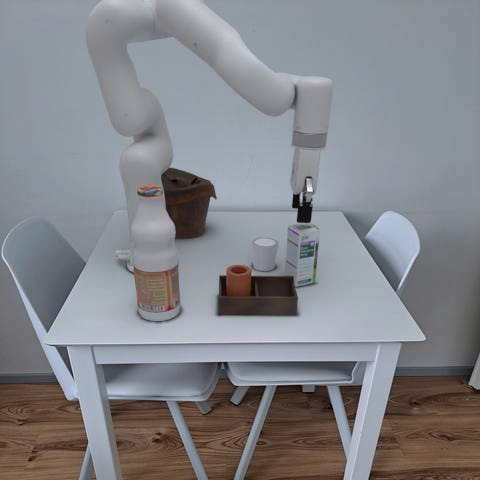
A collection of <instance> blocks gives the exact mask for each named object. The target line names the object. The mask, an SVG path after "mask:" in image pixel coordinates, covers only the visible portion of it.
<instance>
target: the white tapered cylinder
mask: <svg viewBox="0 0 480 480" xmlns="http://www.w3.org/2000/svg"><path fill="white" fill-rule="evenodd" d="M251 246H252V247H251V249H252V262H253V263H252V265H253V269H255V270H257V271H261V272H269V271H273V270H274V269H275V267H276V260H277V254H278V248H279V247H278V246H279V242H278V241H277V240H276V238H275V239H274V238H272V237H257V238H254V239H253V240H252V242H251Z"/></svg>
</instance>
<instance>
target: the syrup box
mask: <svg viewBox="0 0 480 480" xmlns="http://www.w3.org/2000/svg"><path fill="white" fill-rule="evenodd" d="M320 233H321V228H319V227H318V226H317V225H315V224H313V223H311V222H310V223H295V224H288V225H287V233H286V235H287V236H286V253H285V269H284V276H294V284H295V288H299V287H301V286H306V285H312V284H315V283H316V277H317V265H318V258H319V257H318V255H319V246H320V244H319V243H320V236H321V234H320Z"/></svg>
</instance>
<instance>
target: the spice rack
mask: <svg viewBox="0 0 480 480" xmlns="http://www.w3.org/2000/svg"><path fill="white" fill-rule="evenodd" d="M298 301H299V297H298V292H297V287H295V284H294V276H285V275H251V292H250V296H226V274H224V275H223V274H222V275H221V274H220V275H218V315H219V316H297V313H298Z"/></svg>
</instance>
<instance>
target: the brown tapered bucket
mask: <svg viewBox="0 0 480 480" xmlns="http://www.w3.org/2000/svg"><path fill="white" fill-rule="evenodd" d="M161 181H162V185H163V189H164V194H165V204H166V211H167V213H168V215H169V217H170V219H171V220H172V221H173V223H174V225H175V230H176V234H175V239H177V238H178V239H190V238H195V237H199V236H201V235H203V233H204V232H205V228H206V221H207V217H208V213H209V207H210V203H211V198H214V200H216V201H217V199H218V198H217V193H216V188H215V185H214V184H213V183H212V182H211V180H210V179H206V178H205V177H204V178H203V177H201V176H198V175H196V174H194V173H191V172H189V171H185V170H183V169H178V168H175V167H169V168H168V169H167V170H166V171H165V172H164V173H163V174H162V175H161Z"/></svg>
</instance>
